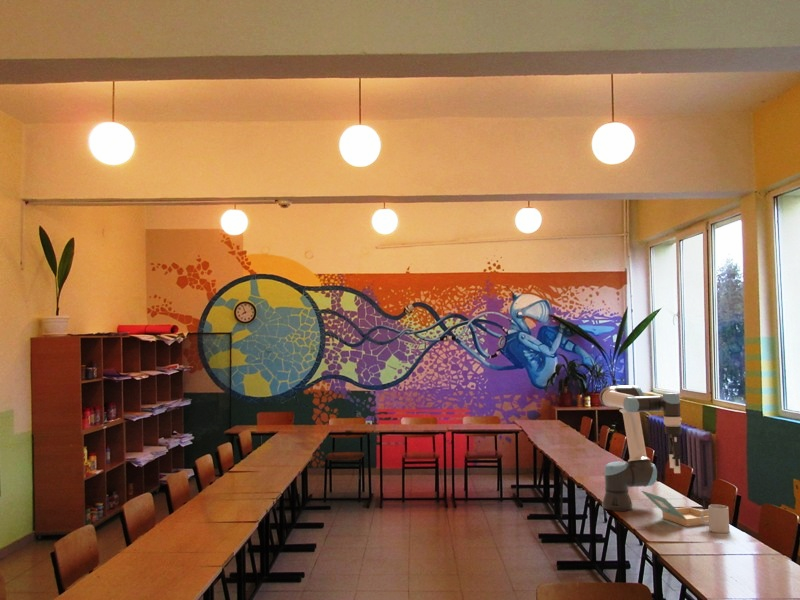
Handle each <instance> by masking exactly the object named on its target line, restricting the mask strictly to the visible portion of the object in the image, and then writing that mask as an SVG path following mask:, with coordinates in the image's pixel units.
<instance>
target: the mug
mask: <svg viewBox="0 0 800 600" xmlns="http://www.w3.org/2000/svg"><path fill="white" fill-rule="evenodd" d="M701 511H702V512H701V520H702V523H704V525H707V526H708V529H709V531H710V532H712V533H716V534H728V533H729V532H730V517H729V516H730V513H729V506H727V505H723V504H715V503H714V504H712V503H711V504H709V505H708V508H706V509H702V510H701ZM704 513H709V521H704V519H703V515H704Z"/></svg>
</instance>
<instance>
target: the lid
mask: <svg viewBox="0 0 800 600" xmlns="http://www.w3.org/2000/svg"><path fill="white" fill-rule="evenodd" d="M641 493H642V494H643V495H645V496H646V497H647V498H648V499H649V501H651V502H652V503H653V504H655V505H656V506H657V508H659V509H660V510H661V512H662V511H664V512H667V513H670V514H672V515H675V516H678V517H681V518H684V519H685V517H684V516H683V515H682V514H681V513H680V512H679V511H678V510H677V509H678V508H676V507H674V506H673V505H672V504H671V503H670V501H668V500H667V499H666V498H665V497H662V496H660V495H656V494H653V493H650V492H648V491H644V490H642V491H641Z"/></svg>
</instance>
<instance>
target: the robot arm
mask: <svg viewBox="0 0 800 600" xmlns="http://www.w3.org/2000/svg"><path fill="white" fill-rule="evenodd" d="M599 401H600V402H601V404H602V405H603V406H605V407H609V408H618V410H619V412H620V413H621V414H622V417H623V418H622V419H623V423H624V430H625V435H626V436H625V437H626V441H627V448H628V449H627V450H628V455H629V459H628V460H627V461H622V460H621V461H617V460H616V461H610V462H608V463H607V464H605V466H604V472H603V473H604V488H605V489H604V495H603V500H602V502H601V506H602V508H603V509H604V510H608V511H614V512H628V511H631V510H633V502H632V500H631V496H630V494H629V488H636V487H637V488H640V487H643V488H644V487H652V486H654V485H655V483H656V481H657V479H658V478H657V477H658V470H657V467H656V465H655V464H654V463H652V462H651V458H649V457H648V456H647V451H646V445H645V439H644V433H643V428H642V427H643V426H642V422H641V415H640V413H643V412H645V413H647V412H649V413H650V412H663V425H665V426H664V433H665V435H668V439H667V440H668V450H667V451H668V457H669V469H673V473H674V474H681V460H680V459H681V453H680V444H679V443H680V442H679V437H678V436H677V435H681V434H682V433H683V432H682V426H681V425H682V421H683V418H681V417H682V415H681V399H680V393H678V392H664V393H662V394H661V395H660V394H659V395H658V394H655V395H646V396H645V395H644V393H643V391H642V389H641V387H639V386H638V385H636V384H635V385H632V384H627V385H610V386H606V387H604V388H603V389H601V391H600V393H599Z"/></svg>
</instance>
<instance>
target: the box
mask: <svg viewBox="0 0 800 600" xmlns="http://www.w3.org/2000/svg"><path fill="white" fill-rule="evenodd" d="M676 509H677V510H678V511H679V512H680V513H681V514H682V515H683V516H684V517H685V519H684V518H681V517H678V516H675V515H672V514H670V513H667V512H664V511H662V510H661V512H662V513H661V514H662V518H663V519H665V520H668V521H671V522H673V523H676V524H679V525H682V526H684V527H687V528H689V527H695V526H703V525H705V524H704V523H702V520H701V512H702V511H703V510H700V509H698V508H695V507H691V506H688V507H687V506H686V507H679V508H676ZM703 519H704V521H709V513H704V515H703Z"/></svg>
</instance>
